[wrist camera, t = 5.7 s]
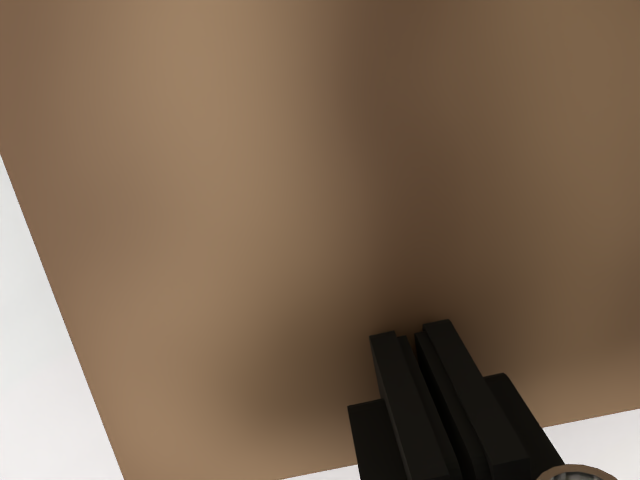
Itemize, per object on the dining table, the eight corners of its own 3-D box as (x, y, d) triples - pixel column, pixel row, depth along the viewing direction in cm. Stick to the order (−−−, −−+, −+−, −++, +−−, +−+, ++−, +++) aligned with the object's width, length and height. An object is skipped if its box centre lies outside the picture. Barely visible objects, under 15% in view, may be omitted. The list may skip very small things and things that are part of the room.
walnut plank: (760, -178, 11) (860, -228, 9) (739, 332, 14) (809, 375, 12) (-6, -13, 11) (-69, -28, 9) (155, 449, 14) (135, 507, 13)
